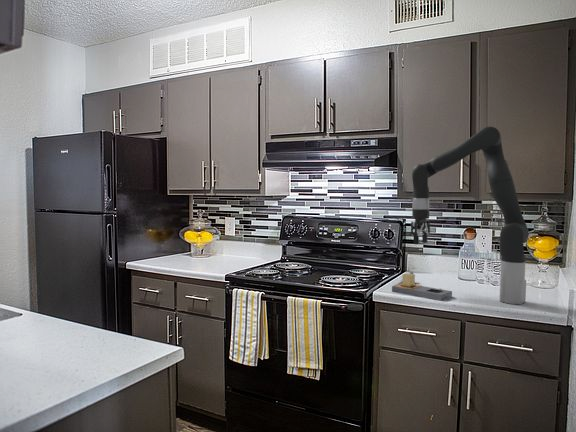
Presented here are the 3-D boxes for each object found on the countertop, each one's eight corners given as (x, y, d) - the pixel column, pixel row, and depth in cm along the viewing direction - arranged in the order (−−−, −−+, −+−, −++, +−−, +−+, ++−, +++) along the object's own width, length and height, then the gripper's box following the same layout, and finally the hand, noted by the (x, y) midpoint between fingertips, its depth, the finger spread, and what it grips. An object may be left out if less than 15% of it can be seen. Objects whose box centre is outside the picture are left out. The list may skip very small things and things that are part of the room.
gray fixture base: (451, 296, 204) (452, 290, 204) (441, 300, 197) (441, 294, 197) (403, 288, 221) (403, 282, 221) (391, 291, 214) (392, 285, 214)
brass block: (414, 291, 214) (414, 274, 213) (409, 293, 211) (410, 275, 210) (406, 290, 216) (407, 273, 216) (402, 291, 214) (402, 274, 213)
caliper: (411, 282, 236) (412, 270, 235) (413, 282, 235) (413, 270, 234) (391, 289, 220) (392, 275, 220) (393, 289, 219) (394, 276, 219)
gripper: (421, 208, 206) (420, 245, 207) (435, 207, 216) (435, 242, 217) (405, 208, 211) (405, 244, 212) (420, 207, 221) (420, 241, 222)
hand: (420, 243), depth 214 cm, fingers open, 8 cm apart
